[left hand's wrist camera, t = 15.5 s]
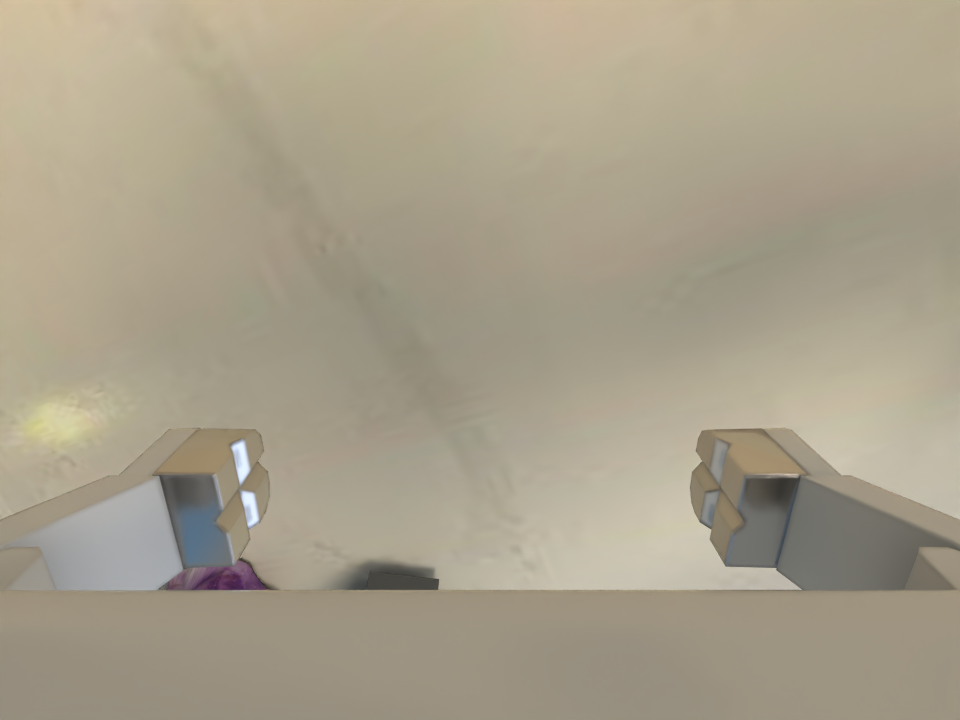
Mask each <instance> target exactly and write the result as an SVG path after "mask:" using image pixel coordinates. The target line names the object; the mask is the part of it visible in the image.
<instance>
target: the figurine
mask: <svg viewBox="0 0 960 720" xmlns="http://www.w3.org/2000/svg"><path fill="white" fill-rule="evenodd" d="M167 590H269V589H267V588H266V587H265V586H264V585H263V584H262V583H261V582H260V581H259V579H258V578H257V576H256V575H255V573H254V572H253V569H252V568H251V567H250V566H249V564H248V563H245V562H243V561H241V560H239V559H238V561H237V563H236V564H235V566H231V567H195V568H187V569H184V570H183V571H182V572H181V573H179V574H178V575H177V576H175V577H174V578H173V579H171V580H170V581H169V584H168V588H167Z"/></svg>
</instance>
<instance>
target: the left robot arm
mask: <svg viewBox="0 0 960 720" xmlns="http://www.w3.org/2000/svg"><path fill="white" fill-rule="evenodd" d="M263 452H264V448H263V443H262V438H261V435H260V434H259V433H258V431H257V430H256V429H201V428H179V429H169V430H168V431H167V432H166V433H165V434H164V435H162V436H161V437H160V438H159V439H158V440H157V441H156V442H155V443H154V444H153V445H151V446H150V447H149V448H148V449H147V450H146V451H145V452H144V453H143V454H142V455H140V456H139V457H138V458H137V459H136V460H135V461H134V462H133V463H132V464H131V465H130V466H128V467H127V468H126V469H125V470H124V471H123V472H122V473H121V474H120V475H119V476H107V477H105V478H102V479H100V480H97V481H95V482H92V483H90V484H87V485H85V486H82V487H80V488H78V489H75V490H73V491H70V492H68V493H65V494H63V495H60V496H58V497H55V498H53V499H50V500H48V501H45V502H43V503H40V504H38V505H35V506H33V507H31V508H28V509H26V510H23V511H21V512H18V513H16V514H13V515H11V516H8V517H6V518H3V519H1V520H0V720H960V520H959V519H956V518H954V517H951V516H949V515H947V514H944V513H942V512H939V511H937V510H934V509H932V508H929V507H927V506H924V505H922V504H919V503H917V502H914V501H912V500H910V499H907V498H905V497H902V496H900V495H897V494H895V493H892V492H890V491H887V490H885V489H882V488H880V487H877V486H875V485H873V484H870V483H868V482H865V481H863V480H860V479H858V478H855V477H853V476H842V475H840V474H839V473H838V472H837V471H836V470H835V469H834V468H833V467H832V466H831V465H829V464H828V463H827V462H826V461H825V460H824V459H823V458H822V457H821V456H820V455H819V454H817V453H816V452H815V451H814V450H813V449H812V448H811V447H810V446H809V445H808V444H806V443H805V442H804V441H803V440H802V439H801V438H800V437H799V436H798V435H797V434H796V433H794V432H793V431H792V430H790V429H787V428H768V429H762V428H759V429H717V430H704V431H702V432H701V434H700V436H699V438H698V442H697V447H696V452H697V454H698V455H699V457H700V458H701V460H702V462H701V463H700V464H699V465H698V466H697V467H696V468H695V469H694V470H693V471H692V477H691V484H690V492H691V503H692V506H693V509H694V512H695V514H696V516H697V518H698V520H699V521H700V523H702V524H703V525H705V526H707V527H708V528H710V529H711V536H710V541H711V542H712V544H713V546H714V547H715V549H716V551H717V552H718V554H719V556H720V558H721V559H722V561H723V563H724V564H725V566H727V567H764V568H777V569H776V570H777V571H778V572H780V573H781V574H782V575H784V576H785V577H786V578H788V579H789V580H790V581H792V582H793V583H794V584H796V585H797V586H798V587H800V588H801V589H802V590H158V589H159V588H160V587H162V586H163V585H164V584H166V583H167V582H168V581H170V580H171V579H173V578H174V577H175V576H177V575H178V574H179V573H181V572H182V571H183V570H184V569H183V568H195V567H231V566H235V564H236V563H237V561H238V559H239V558H240V556H241V554H242V553H243V551H244V549H245V547H246V546H247V544H248V542H249V541H250V536H249V529H250V528H252V527H253V526H255V525H257V524H258V523H260V521H261V520H262V518H263V516H264V514H265V512H266V509H267V505H268V501H269V496H270V483H269V476H268V471H267V470H266V469H265V468H264V467H263V466H262V465H261V464H260V463H259V462H258V460H259V458H260V457H261V455H262V454H263Z"/></svg>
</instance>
